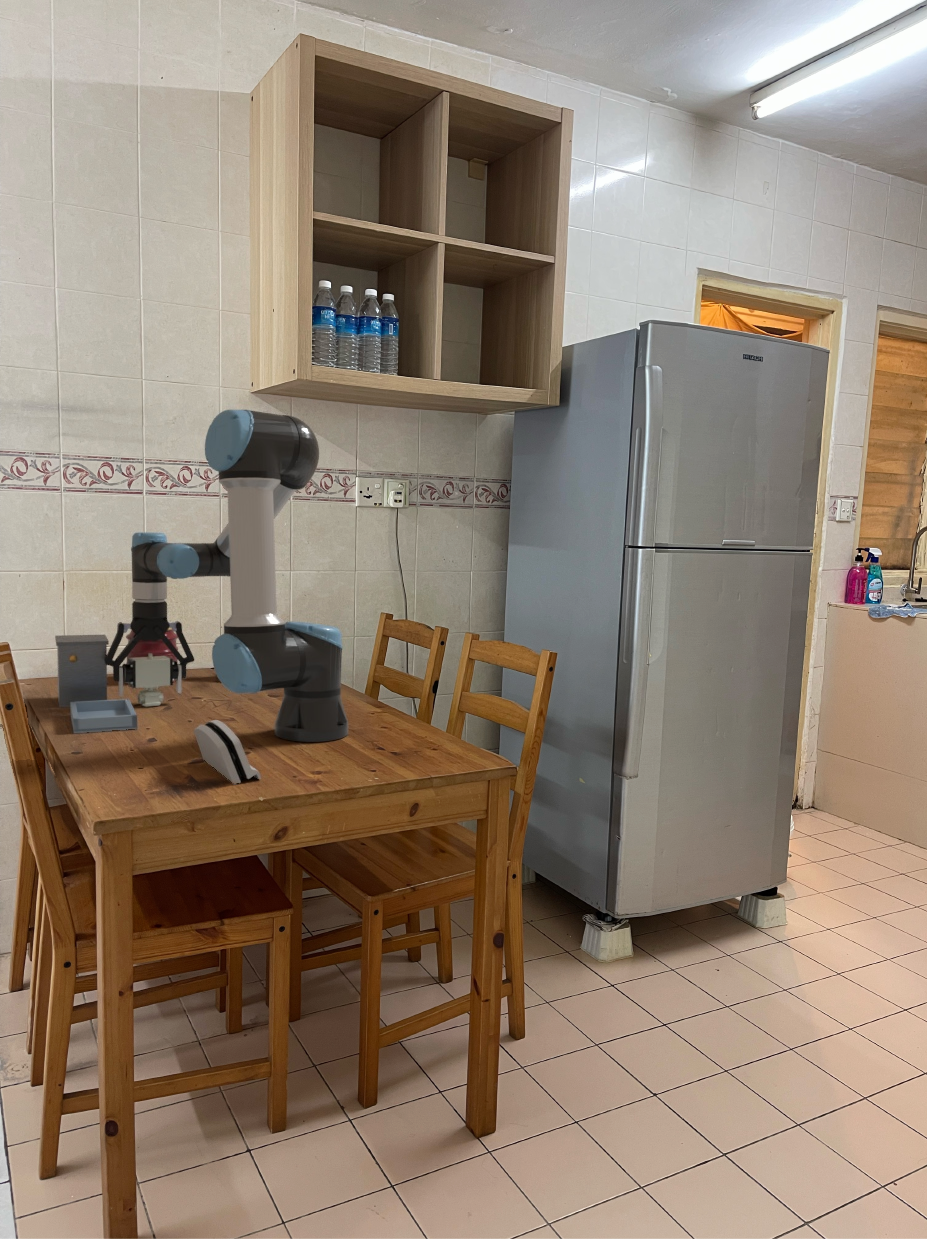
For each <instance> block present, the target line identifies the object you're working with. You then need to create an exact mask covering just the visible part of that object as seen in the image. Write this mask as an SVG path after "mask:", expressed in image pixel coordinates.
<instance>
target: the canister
mask: <svg viewBox="0 0 927 1239" xmlns="http://www.w3.org/2000/svg"><path fill="white" fill-rule="evenodd" d="M128 630H130V632H129V633H128V634H126V636H125V639H126V640H127V644H128V643H129V641H130V640H131V638H132V637H133V636H134V634H135V633H134V632H133V631H132V629H131V628H129V629H128ZM165 636H166V637H167V638H168V639H169V641H170V642H171V643H172V644H173V646H174V647H175V648H176V649H177V651H178V652H179V647H178V646H177V639H178V637H177V634H176V632H174V631H173V630H172V628H170V627H169V629H168V630H167V631H166V633H165ZM148 653H152V657H156V656H168V657H170V658H172V659H173V661H177V663H178V662H179V661H178V659H177V658H176V657H175V656H174V654H173V653H172V652H171V651H170V649H169V648H168V647H167V646H166V645H165V643H164V642H163V641H162V640H161V639H160V640H158V641H147V642H143V641H141V640H140V641H139V642H138V643H137V644H136V645H135V647H134V648H133V649H132V651H131V652H130V653H129V654H128V656H127V657H126V663H127V662H128V658H138V657H148ZM178 664H179V663H178ZM174 682H176V679H175V680H174V681H173V683H174Z"/></svg>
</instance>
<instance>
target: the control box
mask: <svg viewBox="0 0 927 1239" xmlns="http://www.w3.org/2000/svg"><path fill="white" fill-rule="evenodd" d="M54 638H55V646H56V649H57V650H56V652H57V653H56V654H57V699H58V707H59V708H68V707H69V708H70V702H78V701H97V700H108V674H107V673H108V667H107V666H108V665H106V664H105V658H106V656H107V654H108V652H107V651H108V650H107V645H109V643H110V642H109V640H108V638H107V636H106V634H74V635H73V634H72V635H71V634H70V635H68V634H66V635H55V637H54Z"/></svg>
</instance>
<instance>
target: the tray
mask: <svg viewBox="0 0 927 1239" xmlns="http://www.w3.org/2000/svg"><path fill="white" fill-rule="evenodd" d="M69 708H70V709H69V710H70V712H69V713H70V721H71V726H72V730H73V734H85V733H87V732H89V733H101V732H102V731H105V732H113V731H112V730H120V731H129V730H128V729H135V730H138V714H137V713H136V710H135V708H134V706H133V705H132V702H131V700H130V699H129V698H121V699H120V698H119V699H107V700H97V701H78V702H70V707H69ZM126 729H127V730H126Z"/></svg>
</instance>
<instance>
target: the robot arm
mask: <svg viewBox="0 0 927 1239" xmlns="http://www.w3.org/2000/svg"><path fill="white" fill-rule="evenodd" d="M204 455H205V460H206V461H207V465H208V467H210V468H211V469H212V470H214V471H216V472H218V483H219V484H220V485H221V486H222V487H224V488H225V489H226V491H227V494H226V495H227V515H228V516H227V517H228V518H227V519H228V522H227V524H226V525H225V527H224V528H223V529H222V531H221V532H220V534H218V537H217V538H216V539H215V541H214V542H208V543H207V542H199V543H197V542H196V543H195V542H191V543H190V542H189V543H188V542H184V543H183V542H182V543H181V542H179V543H178V542H168V538H167V535H166V534H165V533H164V532H147V531H145V532H143V531H142V532H141V531H139V532H135V533H133V535H132V536H131V537H132V538H131V547H130V551H131V579H132V580H131V584H132V586H131V589H132V592H131V593H132V594H131V598H132V599H133V600H134V601H132V603H131V604H132V605H131V607H132V608H131V609H132V610H131V614H132V617H131V618H132V620H131V622H129V623H124V622H122V621H120V622H119V621H118V623H117V629H116V630H117V631H116V634H115V636H114V638H113V641H112V642H111V645H110V647H109V649H108V650H107V651H108V652H107V656H106V658H105V664H106V665H107V666H110V667H112V673H113V674H112V677H113V681H114V682H118V697H124V682H123V667H122V663H124V661H125V660H126V659H127V656H128V654H129V653H130V652H131V651H132V649H133V648H134V647H135V645H136V644H137V643H138V642H139V641H140V640H141V641H143V642H147V641H158V640H160V639H161V640H162V641H163V642H164V643H165V645H166V646H167V647H168V648H169V649H170V651H171V652H172V653H173V654H174V656H175V657H176V658H177V659H178V662H179V663H178V668H179V675H178V678H177V679H176V681H175V682H176V692H177V694H182V691H183V690H182V679H186V677H187V665H188V664H190V663H193V662H194V661H195V657H194V655H193V653H192V650H191V648H190V646H189V644H188V641H187V639H186V637H185V635H184V632H183V624H182V622H180V621H178V620H176V621H175V622H174V621H173V622H169V620H168V603H167V601H166V600H167V598H168V578H170V579H174V580H176V579H179V580H181V579H183V580H184V579H188V578H197V577H198V578H199V577H200V578H202V577H203V578H204V577H229V578H230V604H231V605H230V608H231V609H230V610H231V611H230V612H231V615H230V616H229V618H228V619H227V620H226V621H225V622H224V623H223V633H222V634H221V635H219V636H217V637H216V639H215V640H214V642H213V643H214V644H213V645H212V647H211V648H212V650H211V659H212V664H213V668H214V671H215V673H216V674H215V675H216V676H217V678H218V680H219V681H220V682H221V684H222V686H223V687H224V688H226V689H227V690H228V691H229V692H231V693H234V694H258V693H259V692H265V691H266V692H267V691H272V690H280V689H283V698H282V701H281V704H280V707H279V710H278V713H277V716H276V718H275V721H274V735H275V736H276V737H278V738H279V739H283V740H286V741H291V742H292V741H293V742H300V743H301V742H302V743H317V742H318V743H319V742H321V743H322V742H329V741H335V740H339V739H342V738H345V737H347V736H348V735H349V720H348V717H347V714H346V711H345V707H344V705H343V701H342V696H341V695H342V693H341V692H342V691H341V688H342V652H343V644H342V639H343V638H342V631H341V630H340V629H339V628H338V627H336V626H332V625H328V624H327V625H326V624H320V623H312V622H303V621H302V622H301V621H292V620H291V621H284V619H282V618H281V617H280V616H279V614H278V613H277V612H278V611H277V606H278V605H277V579H276V574H277V573H276V552H275V550H276V549H275V542H276V541H275V519H276V518H277V516H278V515H279V513H280V512H281V511H282V510H283V508H284V507H285V505H286V504H287V503H288V502H289V501H290V499H291V498H292V496H293V495H294V494H295V492H296V491H301V490H302V489H304V488H306V487H307V485H308V484H309V482H310V481H311V479H312V478H313V476H314V474H315V473H316V470H317V467H318V464H319V460H320V459H319V458H320V446H319V442H318V439H317V437H316V435H315V433H314V432H313V430H312V428H311V427H310V426H309V425H308V424H307V423H306V422H304V421H303V420H302V419H300V418H298V417H296V416H291V415H285V414H276V413H269V412H264V411H256V410H249V409H226V410H223V411H221V412H219V413H218V414H217V415H216V416H215V417H214V418H213V420H212V421H211V424H210V425H209V426H208V429H207V432H206V436H205V441H204ZM169 627H170V628H172V630H173V631H174V633H175V634H177V637H178V638H177V639H178V640H179V642H180V645H181V647H182V650H183V652H184V654H185V656H186V657H183V655H182V654H181V653H180V651H179V650H178V651H177V649H176V648H175V647H174V646H173V644H172V643H171V642H170V641H169V639H168V638H167V637H166V636H165V633H166V631H167V630H168V629H169ZM129 628H131V629H132V631H133V632H134V633H135V634H134V636H133V637H132V638H131V640H130V641H129V643H128V642H127V644H126V645H125V647H124V648H122V651H120V653H119V654H118V656H117V657H116V658H115V659H114V657H115V655H116V653H117V651H118V648H119V646H120V644H121V641H122V639H123V638H124V637H123V636H124V634H125V633H127V632H128V630H131V629H129ZM113 659H114V660H113Z"/></svg>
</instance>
